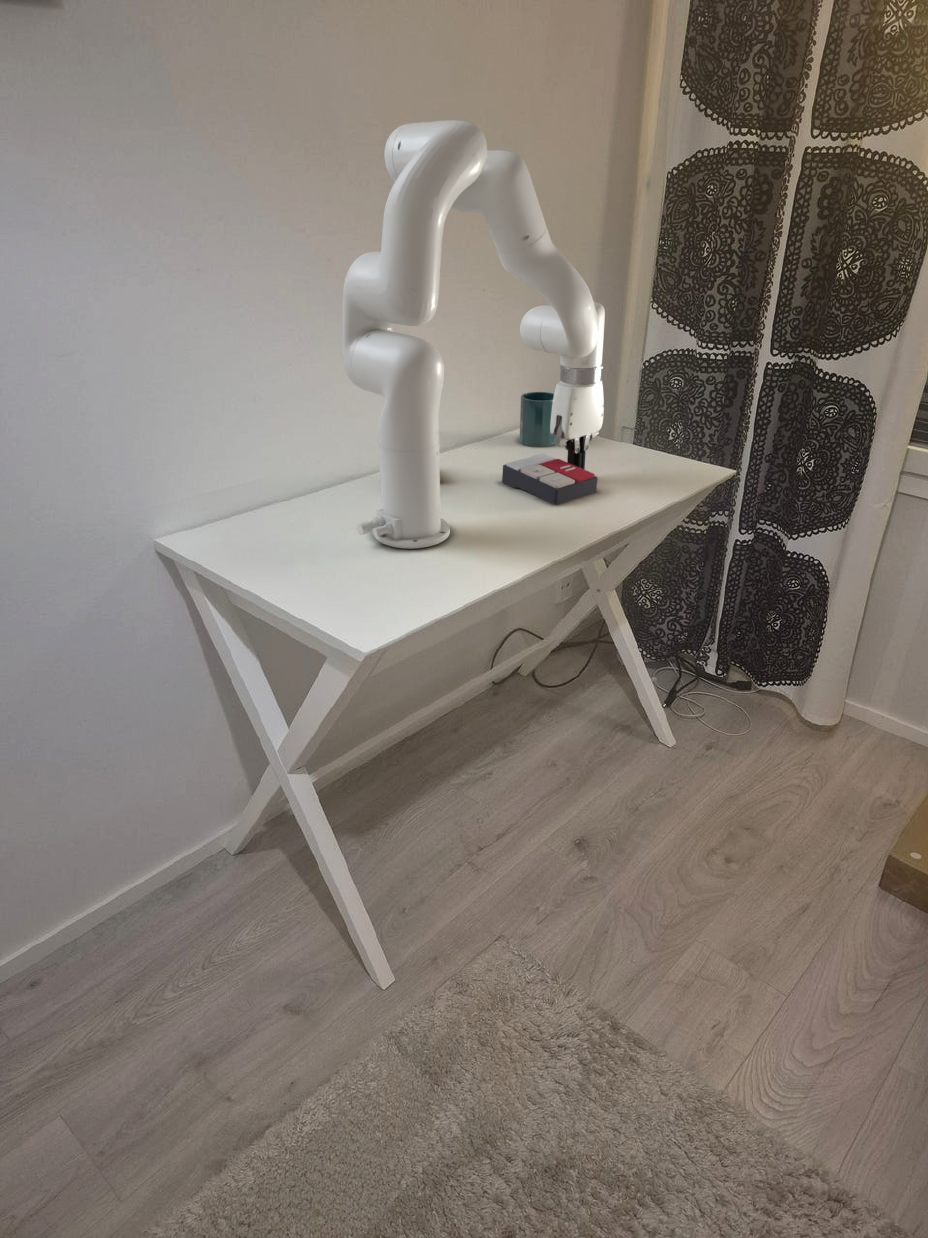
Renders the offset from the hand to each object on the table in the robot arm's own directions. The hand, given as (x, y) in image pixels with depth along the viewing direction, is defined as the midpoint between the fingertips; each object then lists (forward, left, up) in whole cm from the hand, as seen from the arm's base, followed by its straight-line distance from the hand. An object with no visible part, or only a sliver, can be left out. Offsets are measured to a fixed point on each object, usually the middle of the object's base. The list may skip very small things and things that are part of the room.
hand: (575, 469), depth 156 cm
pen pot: (+12, +23, -2) cm, 26 cm away
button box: (-7, 0, -2) cm, 7 cm away
